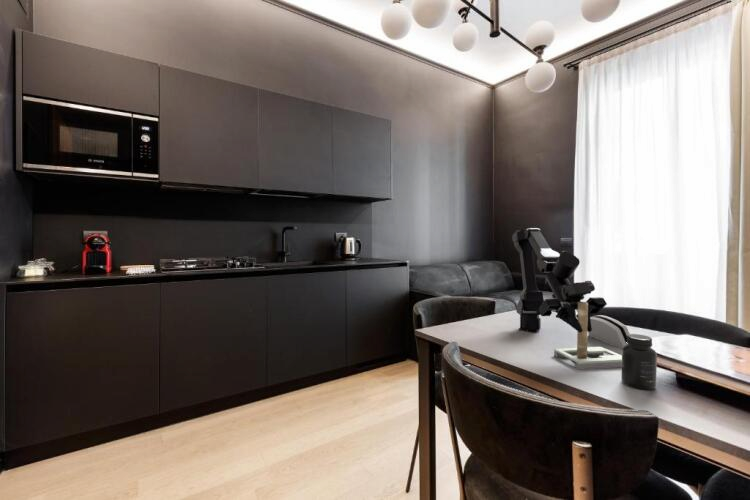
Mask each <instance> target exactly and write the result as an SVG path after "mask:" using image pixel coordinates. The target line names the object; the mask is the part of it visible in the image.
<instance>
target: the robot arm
mask: <svg viewBox="0 0 750 500" xmlns="http://www.w3.org/2000/svg"><path fill="white" fill-rule="evenodd" d="M511 238H512V242H513V245H514V248H515V249H516V250H517V252H518V253H519V258H520V259H519V260H520V269H521V277H522V279H521V280H522V286H523V287H522V288H523V289H522V291H521V293H520V294H519V300H518V303H517V305H516V306H515V310H516V313H517V314H518V315H519V316H520V317H519V327H518V330H519V331H525V332H531V333H537V332H539V331H540V330H541V329H542V327H541V324H542V323H541V321H542V319H541V318H540V316H541V317H550V316H551V315H552V314H553V312H552V311H555V312H556V313H557V314H556V315H555V318H557V319H559V320H562V321H563V322H564V323H566V324H567V325H569V326H570V327H571V328H573V329H574V330H576V331H578V332H580V333H581V332H582V331H583V330H582V328H581V325H580V324H579V322H578V302H582V300H584V299H585V296H586V295H588V294H589V295H590V294H591V293H592V292H594V291H595V290H596V288H595V285H594V284H593V282H592V281H591V280H585V281H582V282H581V281H580V282H573V283H571V282H570V280H569V279H570V278H572V277H573V275H574V273H575V272H576V270H577V268H578V267H579V265H580V259H579V257H577V256H576V255H574V254H572V253H569V251H568V250H561V251H560V253H559V252H558V251H556V250H553V249H552V248H551V247H550V245H549V244H548V241H547V240H546V239H545V237H544V236H543V234H542V230H541V229H540V228H537V227H533V228H532V227H530V228H529V227H528V228H526V229H523V230H516V231H515V232H514V233H513V234H512V237H511ZM533 250H534V253H535V255H536V256H537V261H536V265H537V269H539V271H540V272H541V273H547V276H545V280H544V284H545V285H548V286H549V287H550V289H551V291H552V295H551V297H552V298H546V299H544V293H543V291H541V290H539V288H538V286H537V280H536V279H537V278H536V270H535V261H534V260H535V259H534V253H533ZM585 302H587V303H588V331H587V333H588V332H591V331H592V327H591V320H590V317H591V315H597V314H599V313H600V312H601V311H602V310H603V308H605V307H606V306H607V305H608V303H607V301H606V300H605V298H604V297H601V296H600V297H599V296H596V297H588V299H587V300H586V301H585ZM575 311H576V312H577V314H575Z"/></svg>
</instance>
